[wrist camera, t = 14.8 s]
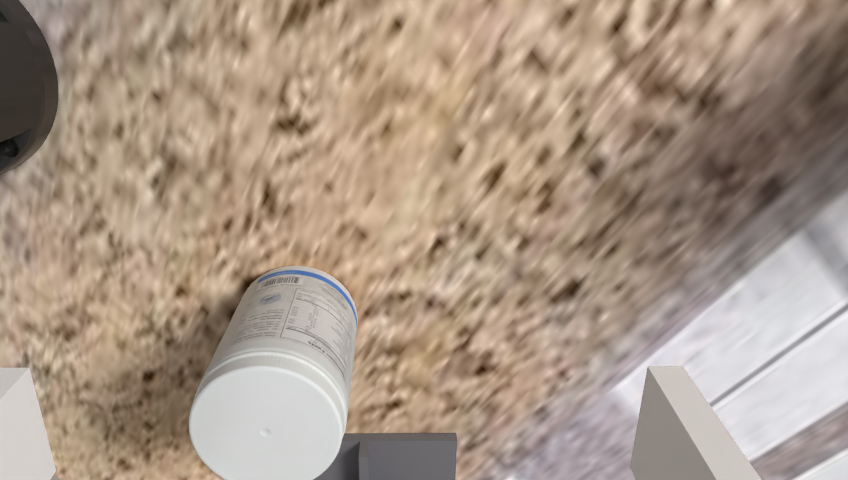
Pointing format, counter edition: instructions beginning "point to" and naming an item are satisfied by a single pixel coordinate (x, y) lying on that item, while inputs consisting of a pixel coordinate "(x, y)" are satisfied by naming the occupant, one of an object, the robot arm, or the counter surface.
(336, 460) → the jack base
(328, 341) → the supplement tub
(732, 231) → the counter surface
